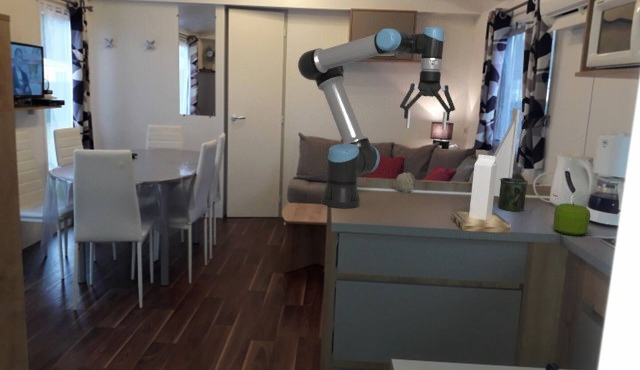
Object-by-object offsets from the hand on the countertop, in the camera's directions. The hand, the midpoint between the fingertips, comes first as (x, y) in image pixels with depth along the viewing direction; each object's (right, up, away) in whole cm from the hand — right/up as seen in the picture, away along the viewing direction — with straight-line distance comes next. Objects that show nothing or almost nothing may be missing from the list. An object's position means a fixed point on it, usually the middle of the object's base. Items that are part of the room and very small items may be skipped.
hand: (425, 128), depth 198 cm
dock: (+16, -35, -13) cm, 41 cm away
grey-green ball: (-1, -24, +44) cm, 50 cm away
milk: (+16, -33, -13) cm, 39 cm away
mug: (+38, -31, +17) cm, 52 cm away
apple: (+46, -38, -17) cm, 62 cm away
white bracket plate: (+41, -26, +49) cm, 69 cm away
